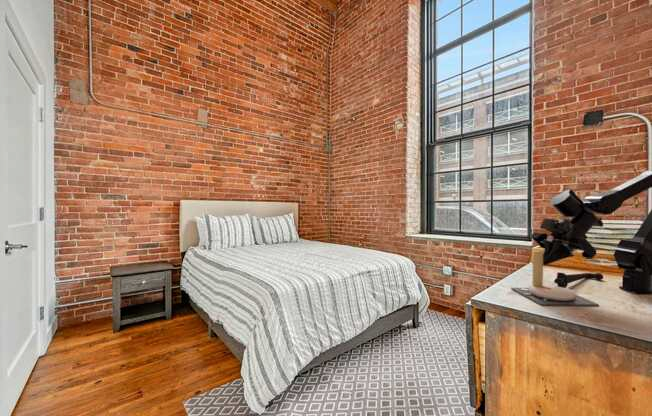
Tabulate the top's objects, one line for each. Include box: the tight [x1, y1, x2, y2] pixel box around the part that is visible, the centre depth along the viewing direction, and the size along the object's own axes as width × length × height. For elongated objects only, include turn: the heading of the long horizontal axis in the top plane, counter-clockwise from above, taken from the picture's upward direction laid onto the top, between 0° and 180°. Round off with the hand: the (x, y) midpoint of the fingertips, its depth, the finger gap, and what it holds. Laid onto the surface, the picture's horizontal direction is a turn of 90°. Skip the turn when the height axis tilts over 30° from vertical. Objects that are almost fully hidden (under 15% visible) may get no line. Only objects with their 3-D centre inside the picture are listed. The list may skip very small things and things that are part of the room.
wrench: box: [553, 272, 604, 288], centre depth 100 cm, size 5×5×30 cm
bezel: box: [510, 287, 600, 307], centre depth 89 cm, size 15×15×1 cm
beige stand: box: [528, 249, 576, 301], centre depth 89 cm, size 11×11×12 cm
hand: (542, 263), depth 93 cm, fingers closed, pressing on beige stand
